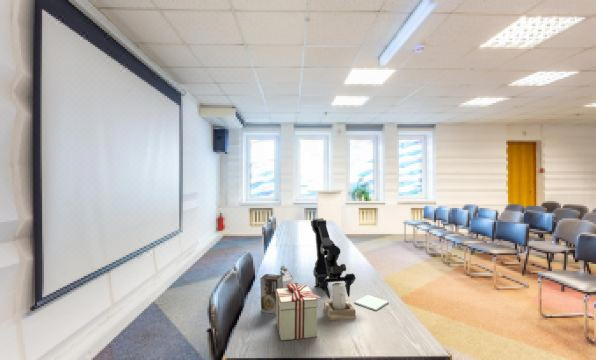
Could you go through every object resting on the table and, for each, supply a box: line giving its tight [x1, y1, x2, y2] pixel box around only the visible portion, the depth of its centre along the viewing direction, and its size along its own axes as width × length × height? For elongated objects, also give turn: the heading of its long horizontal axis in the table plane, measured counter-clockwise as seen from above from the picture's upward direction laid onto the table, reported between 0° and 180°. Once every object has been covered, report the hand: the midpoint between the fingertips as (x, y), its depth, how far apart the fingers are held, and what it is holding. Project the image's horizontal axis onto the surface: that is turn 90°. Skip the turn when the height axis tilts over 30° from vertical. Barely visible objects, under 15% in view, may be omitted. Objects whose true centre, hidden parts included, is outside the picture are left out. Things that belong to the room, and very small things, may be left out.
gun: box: [279, 265, 299, 286], centre depth 186 cm, size 36×4×10 cm
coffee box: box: [259, 273, 283, 314], centre depth 137 cm, size 9×6×16 cm
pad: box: [353, 294, 389, 312], centre depth 143 cm, size 12×12×1 cm
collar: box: [323, 299, 357, 321], centre depth 133 cm, size 11×11×4 cm
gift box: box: [275, 283, 323, 341], centre depth 120 cm, size 17×18×17 cm
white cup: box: [282, 276, 293, 288], centre depth 152 cm, size 8×8×10 cm
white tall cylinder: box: [331, 282, 347, 311], centre depth 132 cm, size 8×6×13 cm
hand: (339, 297), depth 132 cm, fingers open, 9 cm apart
